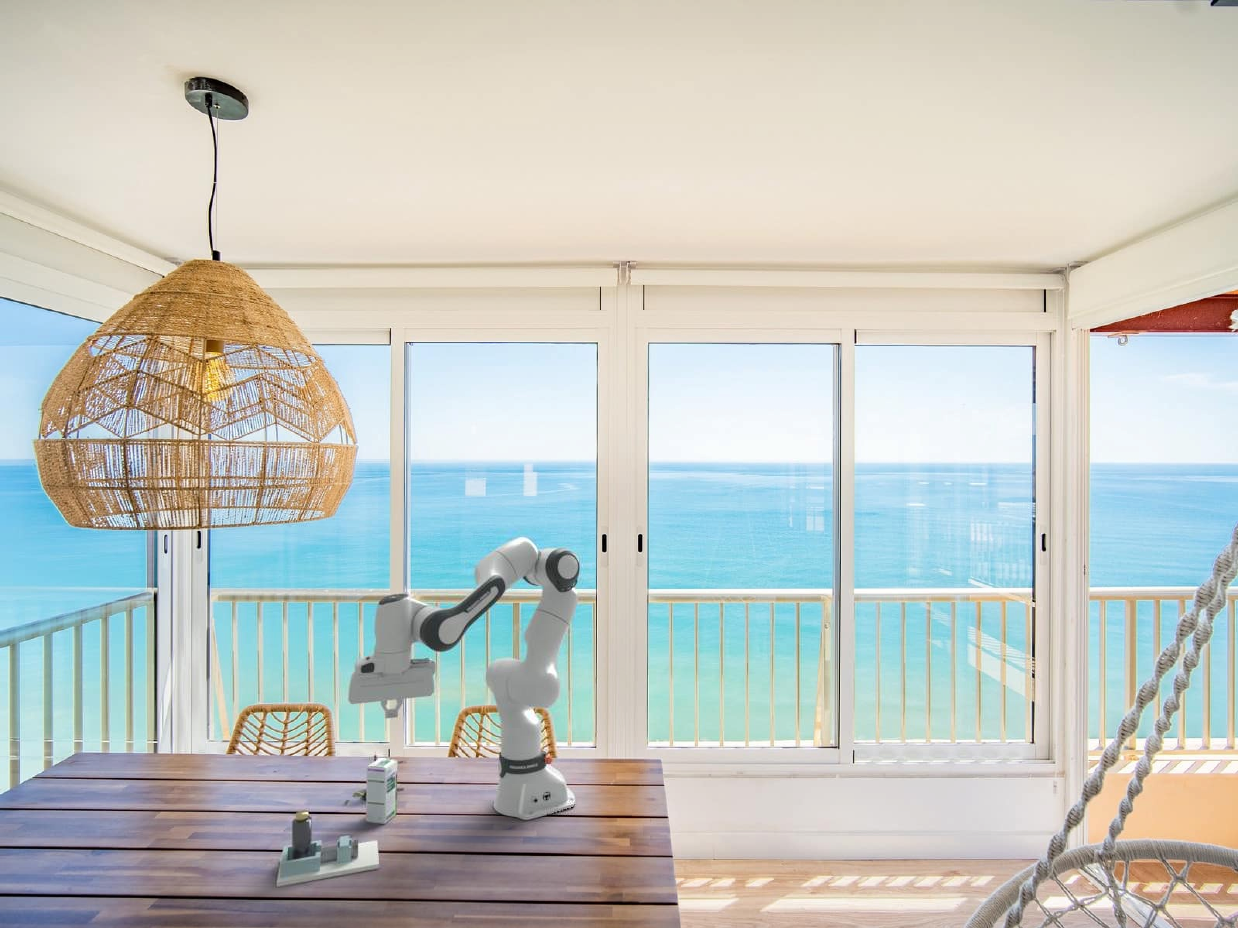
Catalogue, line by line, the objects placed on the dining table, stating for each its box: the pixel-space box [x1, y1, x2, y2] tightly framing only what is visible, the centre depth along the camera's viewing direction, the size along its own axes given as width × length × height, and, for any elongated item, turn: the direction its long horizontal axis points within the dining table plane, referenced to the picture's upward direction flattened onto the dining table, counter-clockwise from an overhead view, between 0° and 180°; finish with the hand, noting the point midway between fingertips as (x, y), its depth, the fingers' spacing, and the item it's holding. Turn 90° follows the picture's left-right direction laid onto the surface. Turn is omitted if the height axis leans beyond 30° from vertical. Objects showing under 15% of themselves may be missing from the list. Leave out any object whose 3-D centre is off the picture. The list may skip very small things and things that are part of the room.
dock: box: [276, 835, 380, 888], centre depth 155 cm, size 21×11×5 cm, turn 112°
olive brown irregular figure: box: [342, 751, 406, 807], centre depth 189 cm, size 15×10×13 cm
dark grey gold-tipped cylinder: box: [291, 809, 313, 860], centre depth 153 cm, size 4×4×12 cm
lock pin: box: [320, 839, 359, 862], centre depth 156 cm, size 8×3×3 cm, turn 112°
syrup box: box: [365, 757, 398, 825], centre depth 177 cm, size 6×6×14 cm
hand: (391, 717), depth 167 cm, fingers closed
